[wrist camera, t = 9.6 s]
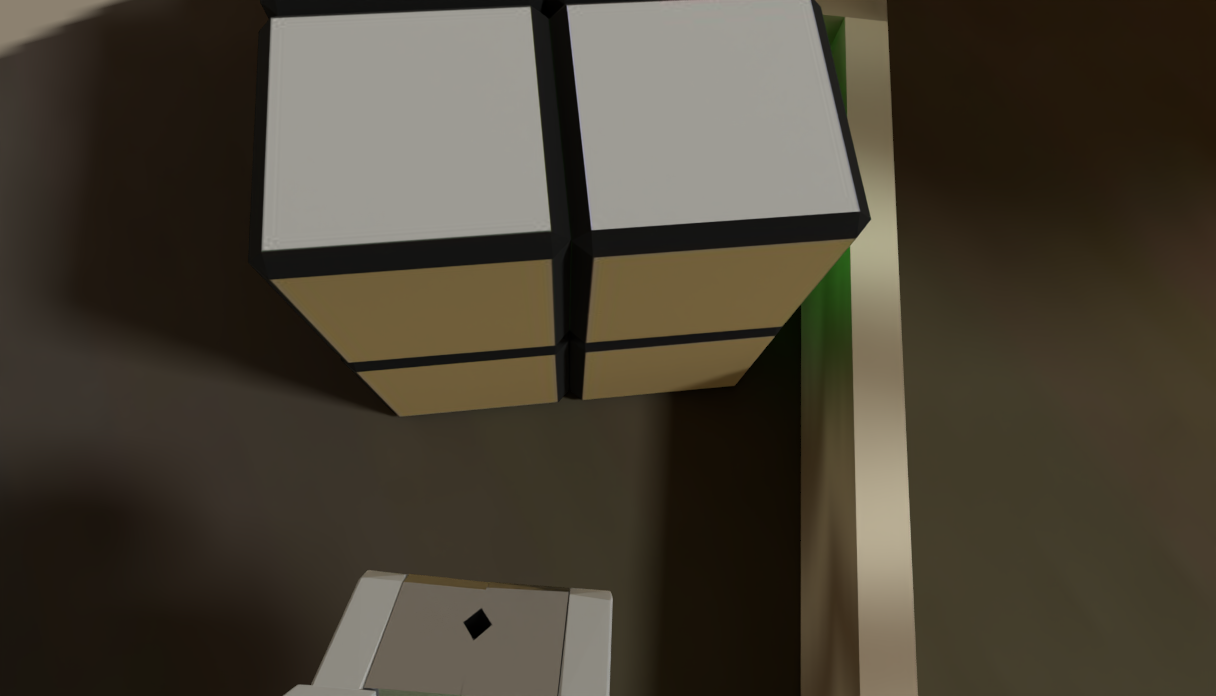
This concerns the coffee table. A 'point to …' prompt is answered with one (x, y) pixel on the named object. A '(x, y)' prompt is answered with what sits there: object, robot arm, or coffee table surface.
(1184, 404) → the coffee table surface
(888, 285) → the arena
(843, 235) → the puzzle cube
